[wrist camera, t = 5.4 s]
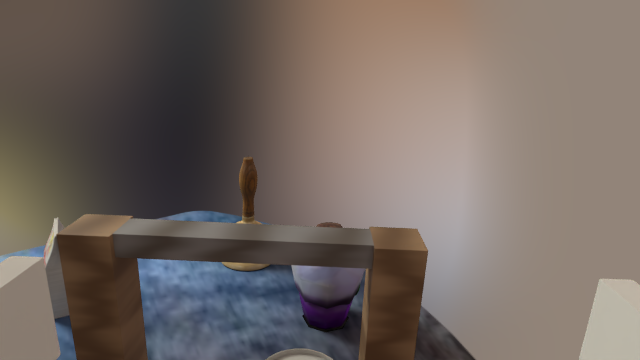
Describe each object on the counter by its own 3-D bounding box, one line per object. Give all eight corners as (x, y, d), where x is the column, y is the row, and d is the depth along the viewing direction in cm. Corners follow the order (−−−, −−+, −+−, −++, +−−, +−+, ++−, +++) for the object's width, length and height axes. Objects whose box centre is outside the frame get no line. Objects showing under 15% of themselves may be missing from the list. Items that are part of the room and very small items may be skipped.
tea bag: (84, 283, 55) (73, 214, 52) (87, 311, 50) (75, 235, 47) (51, 291, 54) (38, 219, 51) (50, 320, 48) (36, 241, 45)
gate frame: (85, 411, 36) (56, 234, 31) (108, 376, 40) (85, 214, 35) (404, 426, 36) (427, 250, 31) (397, 390, 40) (417, 228, 35)
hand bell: (282, 249, 67) (283, 153, 62) (263, 275, 59) (263, 167, 55) (234, 242, 69) (232, 148, 64) (210, 266, 61) (205, 161, 56)
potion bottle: (375, 318, 51) (384, 228, 47) (325, 351, 45) (331, 251, 41) (325, 289, 56) (329, 206, 53) (275, 315, 51) (276, 224, 47)
